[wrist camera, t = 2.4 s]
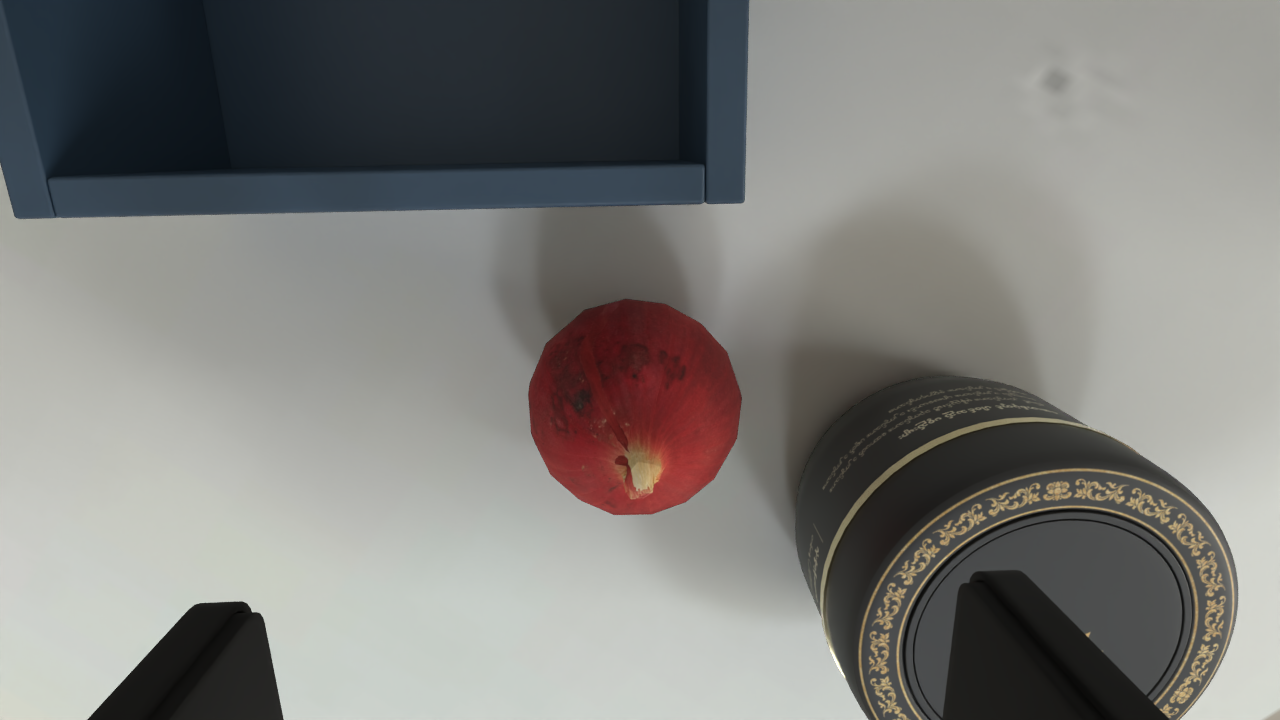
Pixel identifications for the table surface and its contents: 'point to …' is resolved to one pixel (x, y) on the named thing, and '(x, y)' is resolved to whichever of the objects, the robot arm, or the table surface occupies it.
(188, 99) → the bin
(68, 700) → the table surface
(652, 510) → the pomegranate
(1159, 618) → the jar
